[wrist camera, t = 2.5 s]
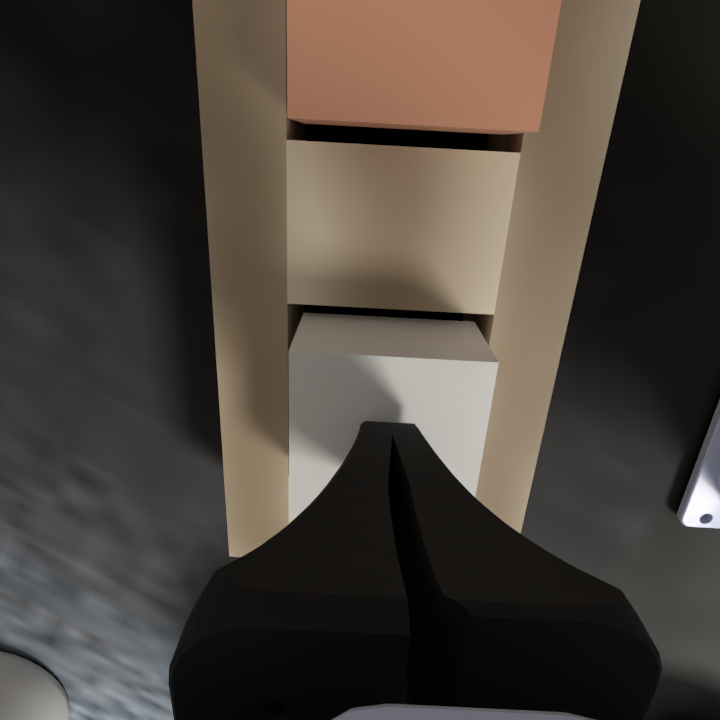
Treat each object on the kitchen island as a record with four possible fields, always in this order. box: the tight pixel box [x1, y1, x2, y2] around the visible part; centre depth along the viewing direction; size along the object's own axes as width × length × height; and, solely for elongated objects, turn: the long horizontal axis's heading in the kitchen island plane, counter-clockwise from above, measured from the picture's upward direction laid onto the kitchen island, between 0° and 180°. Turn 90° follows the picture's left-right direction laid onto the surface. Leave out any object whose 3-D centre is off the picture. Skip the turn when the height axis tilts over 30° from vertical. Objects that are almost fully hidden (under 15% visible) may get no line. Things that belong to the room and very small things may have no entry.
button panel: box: [192, 0, 641, 557], centre depth 15 cm, size 10×23×4 cm, turn 177°
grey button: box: [289, 313, 499, 519], centre depth 14 cm, size 5×5×3 cm
